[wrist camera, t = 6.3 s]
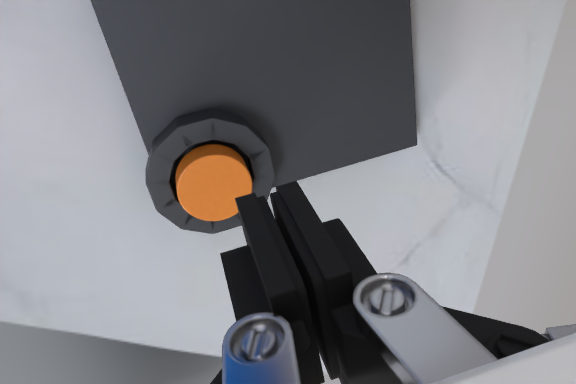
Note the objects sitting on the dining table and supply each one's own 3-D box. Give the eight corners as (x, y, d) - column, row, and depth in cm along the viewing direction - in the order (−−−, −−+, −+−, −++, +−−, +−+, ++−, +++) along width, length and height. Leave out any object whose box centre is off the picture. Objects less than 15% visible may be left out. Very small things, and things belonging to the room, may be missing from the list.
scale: (168, 220, 30) (170, 247, 28) (71, -36, 23) (61, -32, 20) (408, 150, 32) (430, 168, 30) (392, -107, 25) (420, -112, 22)
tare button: (187, 216, 28) (189, 230, 26) (165, 154, 25) (166, 167, 24) (254, 196, 28) (259, 209, 27) (238, 134, 26) (243, 145, 25)
